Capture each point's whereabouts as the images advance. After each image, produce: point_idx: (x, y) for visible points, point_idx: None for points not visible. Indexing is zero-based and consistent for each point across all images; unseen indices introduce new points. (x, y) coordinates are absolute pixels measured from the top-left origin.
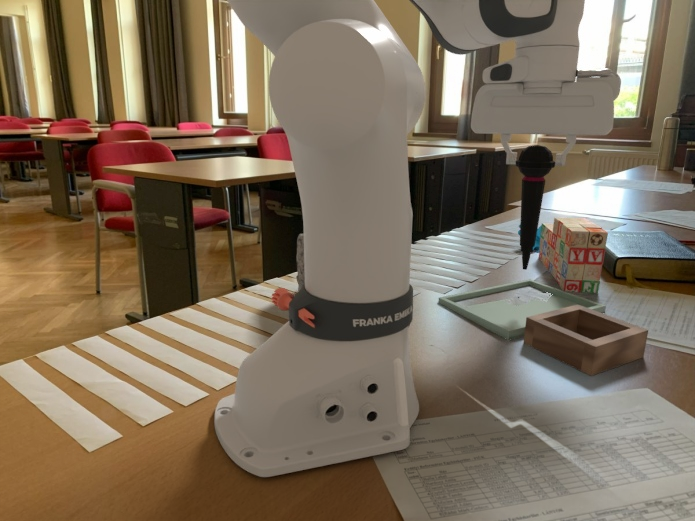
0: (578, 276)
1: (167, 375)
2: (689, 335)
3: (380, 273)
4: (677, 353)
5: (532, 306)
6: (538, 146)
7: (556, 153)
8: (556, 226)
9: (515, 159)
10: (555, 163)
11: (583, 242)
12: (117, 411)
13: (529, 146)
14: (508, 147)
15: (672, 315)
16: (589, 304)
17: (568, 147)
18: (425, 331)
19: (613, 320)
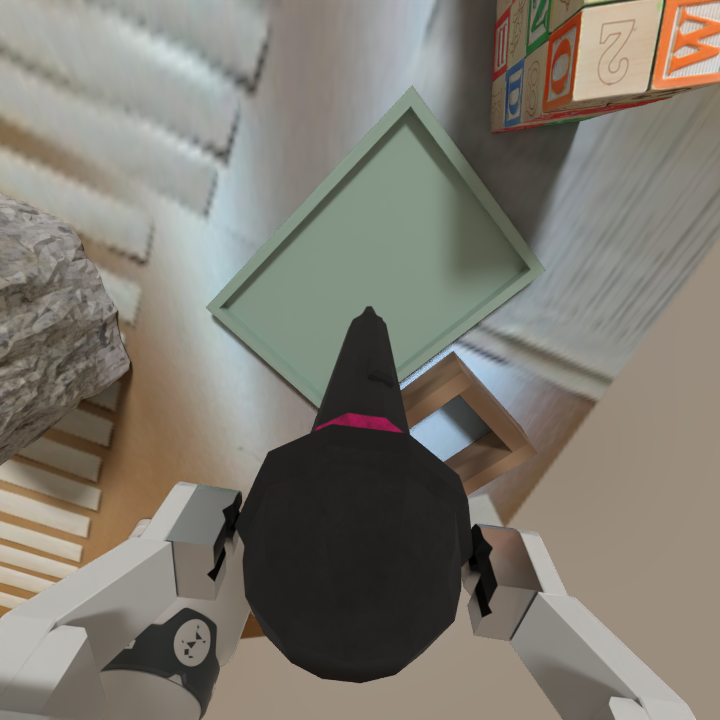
0: (544, 122)
1: (16, 551)
2: (648, 333)
3: None
4: (579, 405)
5: (394, 276)
6: (353, 678)
7: (497, 589)
8: None
9: (228, 556)
10: (463, 576)
11: (602, 102)
12: (35, 594)
13: (288, 656)
14: (135, 636)
15: (689, 231)
16: (517, 252)
17: (563, 705)
18: (221, 410)
19: (498, 430)
